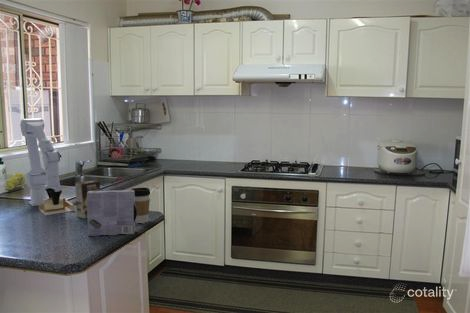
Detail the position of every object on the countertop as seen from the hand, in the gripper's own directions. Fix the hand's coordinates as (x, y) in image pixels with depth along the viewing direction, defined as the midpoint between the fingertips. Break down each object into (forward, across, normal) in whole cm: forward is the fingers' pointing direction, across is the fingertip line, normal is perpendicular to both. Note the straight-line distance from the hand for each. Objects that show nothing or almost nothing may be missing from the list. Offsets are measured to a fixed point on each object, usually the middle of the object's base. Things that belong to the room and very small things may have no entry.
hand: (54, 203), depth 199 cm
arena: (+3, 0, +1) cm, 4 cm away
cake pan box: (+4, +51, +9) cm, 52 cm away
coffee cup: (+4, +43, +25) cm, 50 cm away
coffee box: (+4, +19, +10) cm, 22 cm away
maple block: (+2, 0, 0) cm, 2 cm away
